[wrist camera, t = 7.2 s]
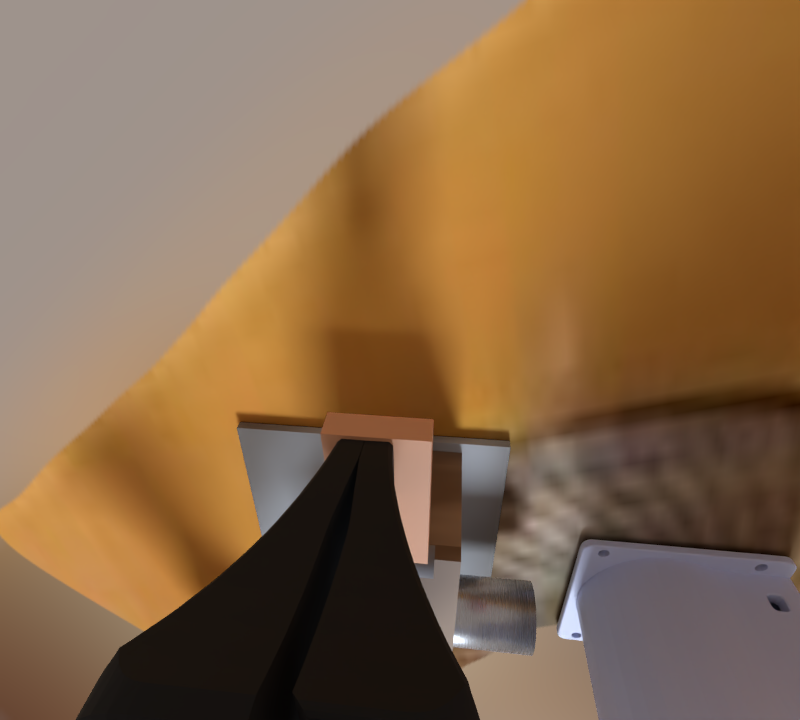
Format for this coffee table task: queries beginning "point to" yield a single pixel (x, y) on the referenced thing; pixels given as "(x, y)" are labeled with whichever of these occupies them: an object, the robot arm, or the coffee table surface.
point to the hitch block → (450, 499)
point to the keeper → (397, 470)
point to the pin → (495, 615)
